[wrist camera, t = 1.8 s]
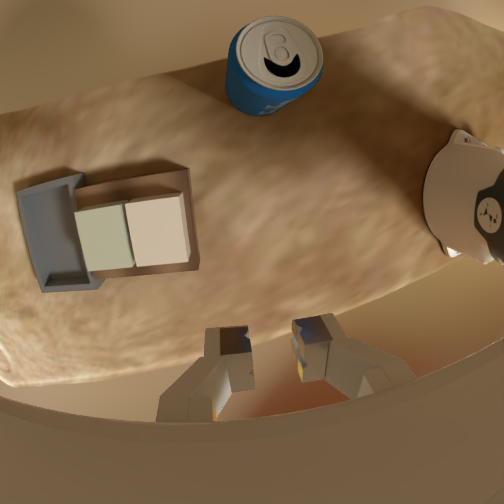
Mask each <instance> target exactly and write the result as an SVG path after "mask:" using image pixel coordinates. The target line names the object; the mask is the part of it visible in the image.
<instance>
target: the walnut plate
mask: <svg viewBox="0 0 504 504" xmlns="http://www.w3.org/2000/svg"><path fill="white" fill-rule="evenodd" d="M74 191H75V197H76V203H77V209H78V211H79V210H80V209H82V208H84V207H88V206H94V205H99V204H105V203H111V202H117V201H123V200H128V201H130V200H132V199H136V198H142V197H149V196H156V195H164V194H171V193H180V192H183V198H184V206H185V214H186V222H187V230H188V237H189V244H190V251H191V253H190V257H189V260H188V262H182V263H172V264H161V265H151V266H140V267H137V265H136V262H135V264H134V265H133V267H130V268H119V269H109V270H98V271H92V273H93V277H94V279H105V278H116V277H128V276H140V275H151V274H162V273H173V272H184V271H194V270H198V269H199V263H200V254H199V247H198V239H197V232H196V224H195V216H194V207H193V198H192V189H191V179H190V169H189V168H188V169H180V170H172V171H165V172H158V173H151V174H145V175H139V176H133V177H127V178H121V179H116V180H111V181H105V182H100V183H95V184H91V185H86V186H83V187H80V188H77V189H75V190H74Z"/></svg>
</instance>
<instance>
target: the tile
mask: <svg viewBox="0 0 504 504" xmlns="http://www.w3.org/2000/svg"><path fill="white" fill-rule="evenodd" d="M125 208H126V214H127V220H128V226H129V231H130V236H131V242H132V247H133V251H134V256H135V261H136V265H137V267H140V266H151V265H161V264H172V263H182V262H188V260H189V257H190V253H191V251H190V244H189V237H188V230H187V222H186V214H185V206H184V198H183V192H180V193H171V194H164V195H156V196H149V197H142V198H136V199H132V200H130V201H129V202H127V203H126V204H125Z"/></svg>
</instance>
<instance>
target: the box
mask: <svg viewBox="0 0 504 504" xmlns="http://www.w3.org/2000/svg"><path fill="white" fill-rule="evenodd" d="M83 186H85V182H84V175H83V173H80V174H76V175H72V176H68V177H64V178H60V179H56V180H53V181H49V182H45V183H42V184H39V185H35V186H32V187H29V188H25V189H22V190H19V191H16V195H17V201H18V207H19V212H20V217H21V222H22V226H23V231H24V235H25V239H26V243H27V247H28V250H29V254H30V257H31V261H32V264H33V268H34V271H35V274H36V277H37V280H38V283H39V286H40V289H41V292H42V293H47V292H65V291H81V290H97V289H99V287H100V286H101V285H102V283H103V282H104V281H105V279H94V277H93V273H92V271H88V269H87V266H86V262H85V258H84V254H83V250H82V246H81V242H80V238H79V233H78V229H77V224H76V219H75V214H74V213H75V212H77V211H78V209H77V203H76V197H75V191H74V190H75V189H77V188H80V187H83Z"/></svg>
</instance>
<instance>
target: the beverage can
mask: <svg viewBox="0 0 504 504" xmlns="http://www.w3.org/2000/svg"><path fill="white" fill-rule="evenodd" d="M322 69H323V51H322V47H321V44H320V42H319V40H318V39H317V37H316V36H315V34H314V33H313V32H312V31H311V30H310V29H309V28H307V27H306V26H305V25H303V24H302V23H300V22H298V21H296V20H294V19H291V18H287V17H281V16H270V17H264V18H260V19H258V20H255V21H254V22H252V23H250V24H248V25H247V26H245V27H243V28H242V29H241V30H240V31H239V32H238V33H237V34H236V35H235V37H234V38H233V40H232V42H231V44H230V48H229V53H228V63H227V75H226V93H227V96H228V98H229V100H230V101H231V103H232V104H233V105H234V106H235V107H236V108H237V109H238V110H240V111H241V112H243V113H246V114H248V115H252V116H266V115H270V114H272V113H274V112H276V111H278V110H279V109H281V108H283V107H284V106H286V105H287V104H289V103H290V102H292V101H294V100H295V99H297V98H298V97H300V96H302V95H303V94H305V93H306V92H308V91H309V90H310V89H312V88H313V87H314V85H315V84H316V83H317V81H318V80H319V78H320V76H321V73H322Z"/></svg>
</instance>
